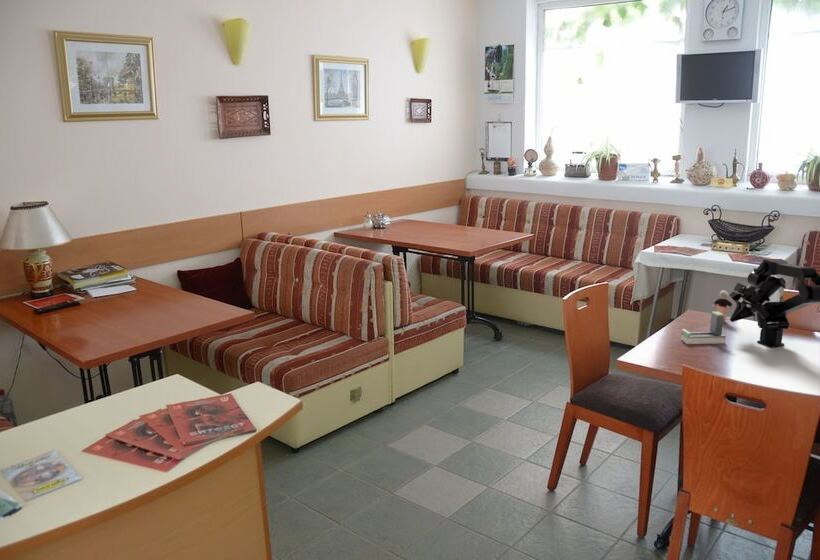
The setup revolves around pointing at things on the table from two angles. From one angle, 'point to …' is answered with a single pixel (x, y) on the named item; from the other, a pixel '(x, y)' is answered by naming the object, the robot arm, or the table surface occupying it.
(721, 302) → the grandmother figurine
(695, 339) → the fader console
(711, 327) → the fader tab
